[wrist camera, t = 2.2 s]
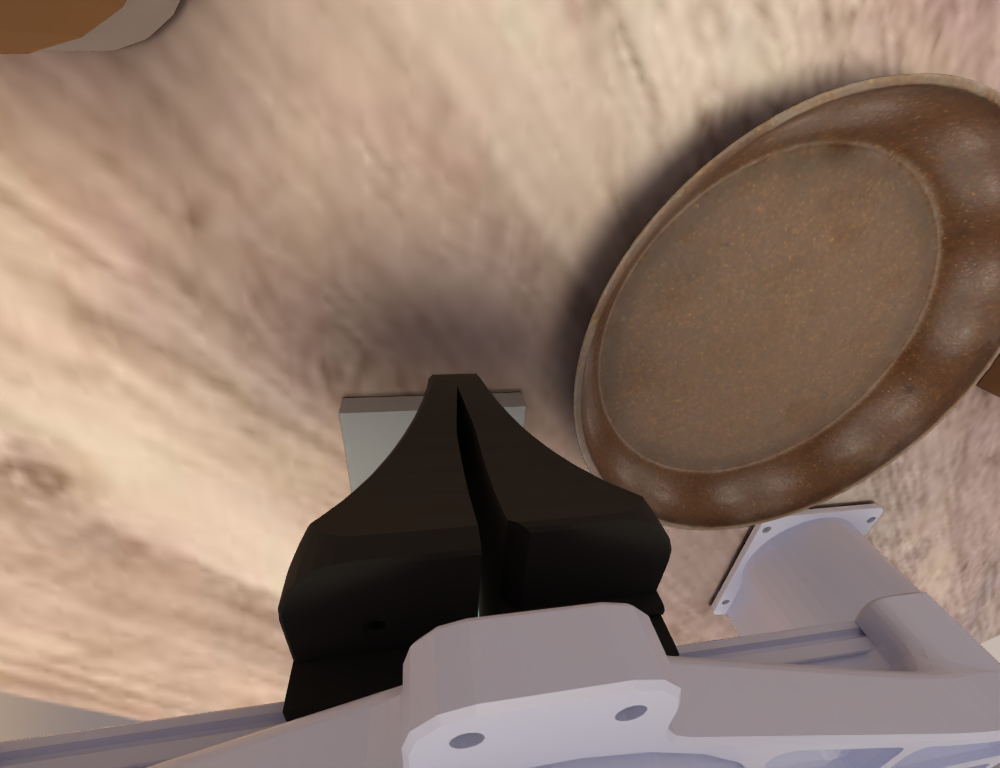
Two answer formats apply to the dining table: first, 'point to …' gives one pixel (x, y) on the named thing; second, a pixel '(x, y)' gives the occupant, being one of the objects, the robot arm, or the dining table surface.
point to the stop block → (992, 379)
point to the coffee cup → (79, 24)
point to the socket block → (390, 428)
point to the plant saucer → (801, 306)
